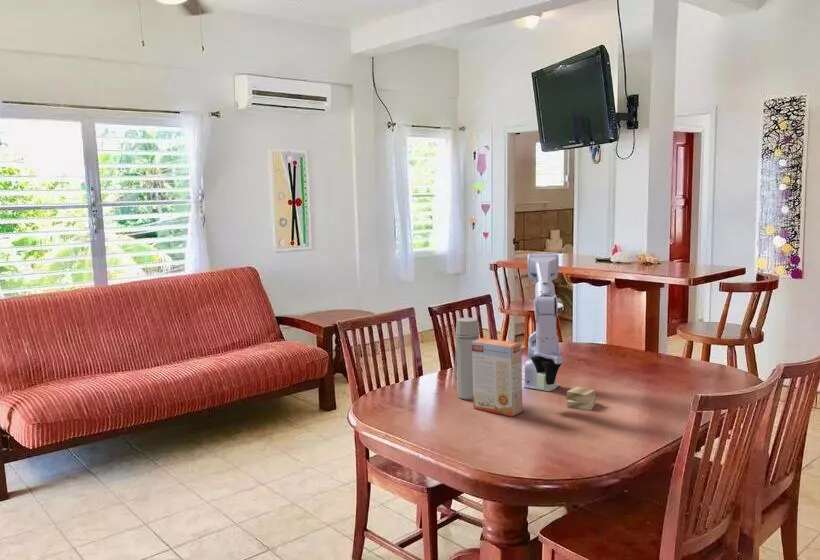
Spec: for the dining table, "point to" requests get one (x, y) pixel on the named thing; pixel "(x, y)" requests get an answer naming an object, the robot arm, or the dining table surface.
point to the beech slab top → (580, 394)
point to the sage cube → (544, 382)
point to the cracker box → (497, 376)
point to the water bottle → (465, 355)
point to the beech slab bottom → (581, 404)
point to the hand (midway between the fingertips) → (546, 382)
